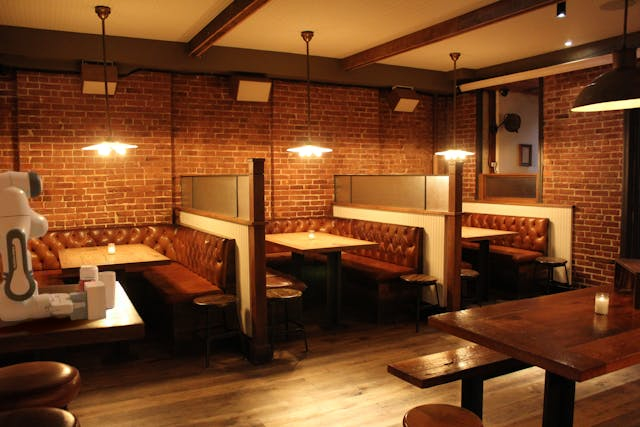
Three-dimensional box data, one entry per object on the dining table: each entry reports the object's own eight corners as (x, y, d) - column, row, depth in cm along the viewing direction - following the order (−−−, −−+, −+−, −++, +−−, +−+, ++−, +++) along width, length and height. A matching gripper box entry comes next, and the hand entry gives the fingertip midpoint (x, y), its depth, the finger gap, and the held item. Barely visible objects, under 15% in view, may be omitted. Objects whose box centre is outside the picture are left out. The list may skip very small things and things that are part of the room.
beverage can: (102, 289, 270) (101, 264, 269) (91, 292, 262) (90, 267, 261) (87, 288, 271) (86, 264, 270) (77, 291, 264) (75, 267, 263)
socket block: (85, 313, 225) (84, 282, 223) (102, 311, 228) (101, 280, 227) (88, 320, 215) (87, 287, 214) (106, 317, 218) (105, 285, 217)
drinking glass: (107, 305, 238) (106, 270, 237) (120, 306, 236) (118, 271, 235) (96, 308, 232) (94, 273, 231) (108, 310, 230) (107, 274, 228)
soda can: (100, 303, 241) (99, 276, 240) (91, 307, 234) (90, 280, 233) (84, 303, 241) (83, 276, 240) (76, 307, 234) (74, 279, 233)
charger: (70, 317, 219) (69, 292, 218) (94, 314, 223) (93, 290, 222) (71, 320, 215) (70, 295, 214) (96, 317, 219) (95, 292, 219)
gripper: (45, 303, 203) (86, 298, 209) (43, 292, 221) (80, 288, 227) (46, 320, 203) (87, 315, 210) (44, 307, 221) (81, 303, 228)
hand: (83, 301), depth 219 cm, fingers open, 8 cm apart
